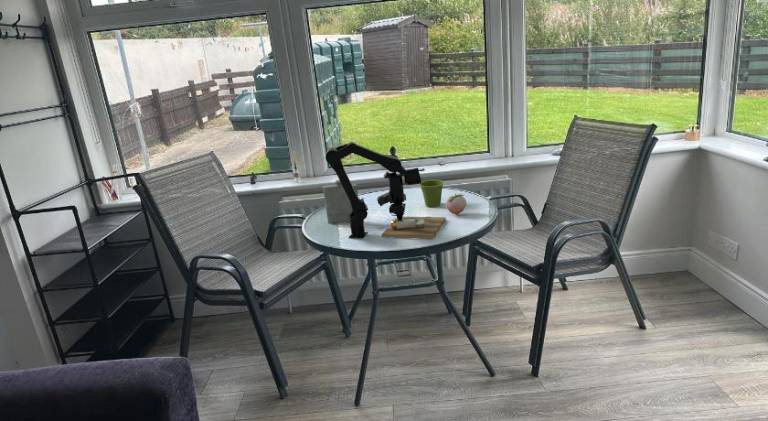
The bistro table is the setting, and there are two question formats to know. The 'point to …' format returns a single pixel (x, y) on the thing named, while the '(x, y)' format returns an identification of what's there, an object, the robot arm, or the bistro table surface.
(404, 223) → the lever
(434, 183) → the plant pot
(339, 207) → the hip flask
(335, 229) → the bistro table surface
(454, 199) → the decorative fruit
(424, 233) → the board
